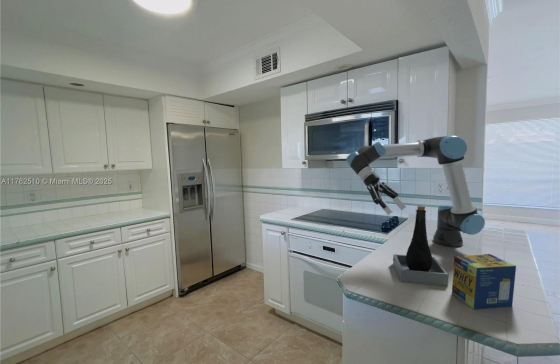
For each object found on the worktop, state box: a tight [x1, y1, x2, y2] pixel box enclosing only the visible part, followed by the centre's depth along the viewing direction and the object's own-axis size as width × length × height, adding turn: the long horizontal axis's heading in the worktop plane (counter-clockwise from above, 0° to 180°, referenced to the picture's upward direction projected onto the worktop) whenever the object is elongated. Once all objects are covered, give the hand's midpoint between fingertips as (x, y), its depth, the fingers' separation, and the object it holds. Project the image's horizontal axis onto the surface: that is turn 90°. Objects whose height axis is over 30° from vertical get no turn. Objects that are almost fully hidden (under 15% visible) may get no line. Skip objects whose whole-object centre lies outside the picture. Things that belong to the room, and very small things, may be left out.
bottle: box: [405, 205, 433, 272], centre depth 115 cm, size 11×11×30 cm
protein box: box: [451, 253, 517, 310], centre depth 95 cm, size 10×15×16 cm
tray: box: [392, 253, 449, 287], centre depth 117 cm, size 18×18×5 cm
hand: (397, 210), depth 122 cm, fingers open, 13 cm apart
